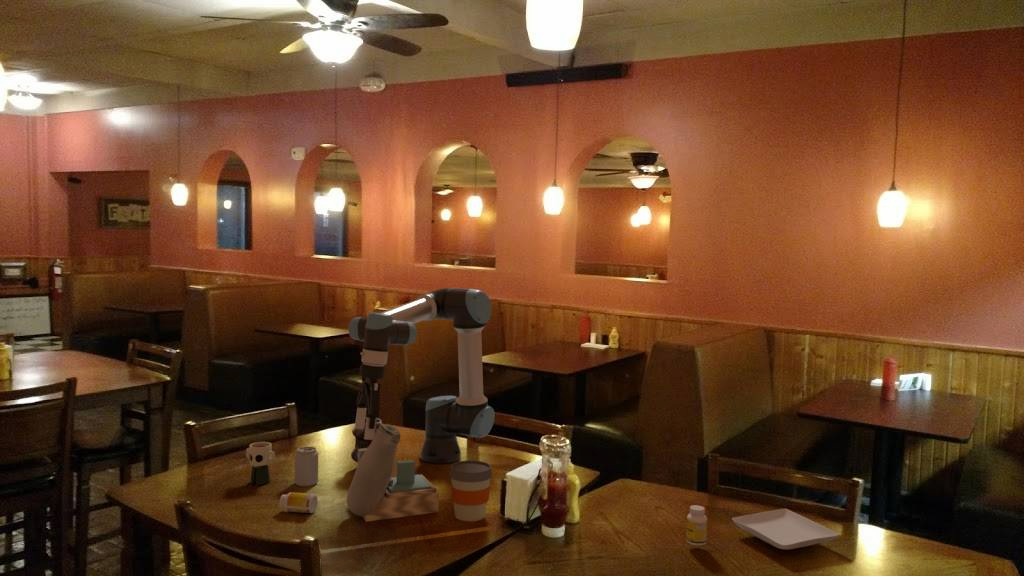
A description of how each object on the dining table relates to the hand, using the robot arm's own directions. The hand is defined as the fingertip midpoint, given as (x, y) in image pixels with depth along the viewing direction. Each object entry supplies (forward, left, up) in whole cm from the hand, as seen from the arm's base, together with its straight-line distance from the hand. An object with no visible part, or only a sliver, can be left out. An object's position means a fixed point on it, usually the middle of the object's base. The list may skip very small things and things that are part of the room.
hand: (363, 434), depth 222 cm
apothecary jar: (-10, -37, -23) cm, 45 cm away
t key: (-3, +2, -17) cm, 17 cm away
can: (+12, -29, -23) cm, 40 cm away
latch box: (-10, +2, -23) cm, 25 cm away
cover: (-13, +2, -17) cm, 21 cm away
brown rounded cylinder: (+3, +5, -22) cm, 23 cm away
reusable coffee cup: (-29, +16, -23) cm, 40 cm away
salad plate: (-108, +61, -24) cm, 126 cm away
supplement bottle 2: (-81, +56, -23) cm, 101 cm away
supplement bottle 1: (+14, -2, -20) cm, 25 cm away
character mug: (+26, -35, -23) cm, 50 cm away
